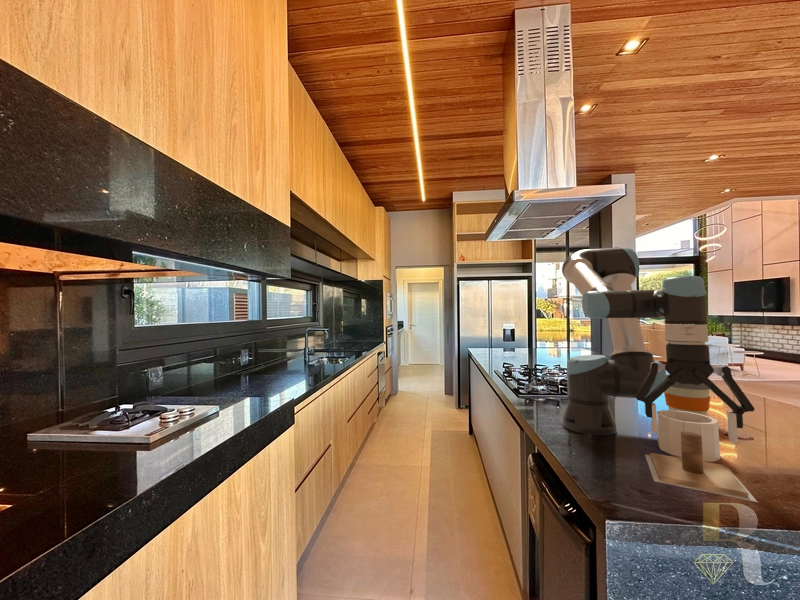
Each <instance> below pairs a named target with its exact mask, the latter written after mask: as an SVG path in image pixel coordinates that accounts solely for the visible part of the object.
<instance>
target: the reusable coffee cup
mask: <svg viewBox="0 0 800 600" xmlns="http://www.w3.org/2000/svg"><path fill="white" fill-rule="evenodd" d="M669 375H670V374H666V378H667V377H668V376H669ZM663 395H664V399H665V400H664V401H665V405H666V406H667V408H668V410H677V411H686V412H692V413H697V414H702V415H706V416H708V415H707V414H708V411H709V410H710V405H711V403H710V402H711V396H710V389H709V388H708V387H707V386H706V385H705V384H704V383H702V384H699V385H694V384H681V383H679V382H676V383H674V384H673V385H671V386H670V387H669V388H668V389H667V390H666V391H665V392H664V393H663Z"/></svg>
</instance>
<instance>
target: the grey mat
mask: <svg viewBox="0 0 800 600" xmlns="http://www.w3.org/2000/svg"><path fill="white" fill-rule="evenodd" d="M644 456H645V459H646V461H647V466H648V468H649V470H650V474H651V476H652V479H653V481H654V482H655V483H661V484H667V485H671V486H675V487H681V488H686V489H691V490H696V491H699V492H700V491H701V492H706V493H709V494H715V495H720V496H725V497H730V498H735V499H740V500H744V501H749V502H754V503H755V502H756V503H758V501H757V499H756V498H755V496H753V495H752V493H751V492H750V491H749V490H748V489H747V488H746V486H745V485H744V484H743V483H742V481H740V480H739V478H738V477H737V475H735V474H734V473H733V471H732V470H731V469H730V468H728V467H727V469H728V470H729V471H730V472H731V473H732V474H733V476H734V477H735V478H736V479H737V480H738V481H739V483H740V484H741V485H742V486H743V487H744V489H745V490H746V491H747V492H748V497H749V498H746V497H741V496H736V495H731V494H726V493H721V492H716V491H711V490H706V489H701V488H696V487H691V486H686V485H681V484H675V483H670V482H665V481H660V480H659V478H658V476H657V473H656V471H655V468H654V465H653V463H652V460H651V457H650V454H644Z"/></svg>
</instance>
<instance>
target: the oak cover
mask: <svg viewBox="0 0 800 600" xmlns="http://www.w3.org/2000/svg"><path fill="white" fill-rule="evenodd" d="M681 450H682V458H681V457H678V456H674V455H667V454H661V453H655V452H650V453H649V455H650V457H651V460H652V463H653V465H654V468H655V471H656V473H657V476H658V478H659V480H660V481H665V482H670V483H675V484H681V485H686V486H691V487H696V488H701V489H706V490H711V491H716V492H721V493H726V494H731V495H736V496H741V497H746V498H749V497H748V492H747V491H746V490H745V489H744V487H745V486H744V487H743V486H742V485H741V484H740V483H739V481H740V480H739V479H738V480H739V481H738V480H737V479H736V478H735V477H734V476H733V474H734V473H733V472H732V473H733V474H732V473H731V472H730V471H729V470H728V469H729V468H728V467H727V466H726V465H725V464H719V463H714V462H703V452H702V436H701V435H699V434H696V433H692V432H681ZM727 468H728V469H727Z"/></svg>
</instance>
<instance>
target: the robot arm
mask: <svg viewBox="0 0 800 600" xmlns="http://www.w3.org/2000/svg"><path fill="white" fill-rule="evenodd" d="M561 272H562V275H563V277H564V278H565V280H566V281H567V282H568V283H571V284H573V286H575V288H576V289H577V291H578V292H579V293H580V295H581V297H582V298H581V309H582V313H583V315H584V316H585V317H586V318H589V319H599V320H603V319H607V320H608V325H609V330H610V335H611V342H612V346H613V347H612V348H613V352H612V353H611V354H610V355H609V358H608V357H607V356H606V355H603V354H588V355H587V354H585V355H579V356H578V355H577V356H574V357H570V358H569V359H568V360H567V362H566V379H567V380H566V382H567V383H566V385H567V404H566V407H565V409H564V413H563V416H562V426H563V427H565V429H567V430H569V431H572V432H575V433H578V434H582V435H591V436H612V435H615V434H617V423H616V422H615V418H614V416H613V413H612V411H611V408H610V404H609V403H610V401H609V399H610V398H628V399H629V398H630V399H636V401H640V402H643V403H644V411H645V412H644V413H645V415H646V418H651V421H650V422H651V424H650V425H651V431H652V433H653V434H655V435H656V434H657V435H658V428H657V405H656V403H655V401H656V400H657V399H658V398H660V397H661V396H662V395H664V392H665V391H666V390H667V389H668V388H669V387H670V386H671V385H673V384H674V383H676V382H679V383H681V384H694V385H699V384H702V383H704V384H705V385H706V386H707V387H708V388H709V391H711V392H712V393H713V394H715V396H717V397H718V398H719V399H720V400H721V401H722V402H724V404H726V406H728V407H729V408H730V410H728V409H727V410H726V418H727V431H728V433H727V434H728V440H729V442H730V443H731V444H732V445H736V446H739V440H738V439H739V438H738V437H739V436H738V429H743V428H744V419H743V417H744V416H743V414H745V413H747V412H754V411H755V410H756V409H755V407H754V405H753V404H752V403H751V401H750V400H749V398H748V397H747V396H746V394H745V393H744V392H743V390H742V389H741V387H740V386H739V385H738V383H737V382H736V380H735V379H734V378H733V376H732V371H731V367H729V366H727V365H724V364H723V365H719V366H712V365H711V358H710V356H711V355H710V346H709V345H708V344H706V343H708V342H709V331H708V329H709V328H708V314H707V313H708V312H707V311H708V310H707V291H706V287H705V281H704V278H703V277H701V276H696V275H686V276H685V275H684V276H683V275H682V276H673V277H667V278H664V279H663V281H662V287H661V288H660V289H636V290H635V289H633V288H632V285H633V283H634V282H635V281H636V278H637V277H638V275H639V273H640V260H639V256H638V254H637V253H636V251H635V250H634V249H632V248H629V247H620V246H618V247H612V248H611V247H608V248H606V247H605V248H587V249H580V250H577V251H575V252H573V253H572V254H570V255H569V256H567V257H566V259H565V260H564V261H563V263H562V267H561ZM640 319H664V336H665V338H664V340H665V341H666V342H668V343H667V344H665V351H666V353H665V355H666V361H665V364H664V363H663V362H662V361H658V360H655V359H654V355H653V353H652V352H650V351H649V350H647V349H646V345H645V340H644V337H643V332H642V328H641V327H642V326H641V323H640ZM714 372H715V373H716V375H718V376H719V377H721V379H722V380H723V381H724V383H725V384H726V385H727V387H728V389H729V390H730V391H731V392H732V394H733V395H734V397H735V398H736V400H737V402H738V403H739V405H738V404H737V403H736V402H735V401H734V400H732V399H731V398H730V397H729V395H728V394H726V393H725V392H724V391H722V389H720V388H719V387H718V386H717V385H716V383H714V382H713V381H712V380H711V379H710V376H712V374H713V373H714ZM667 374H668V375H669V376H668V377H667V378H666V375H667Z"/></svg>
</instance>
